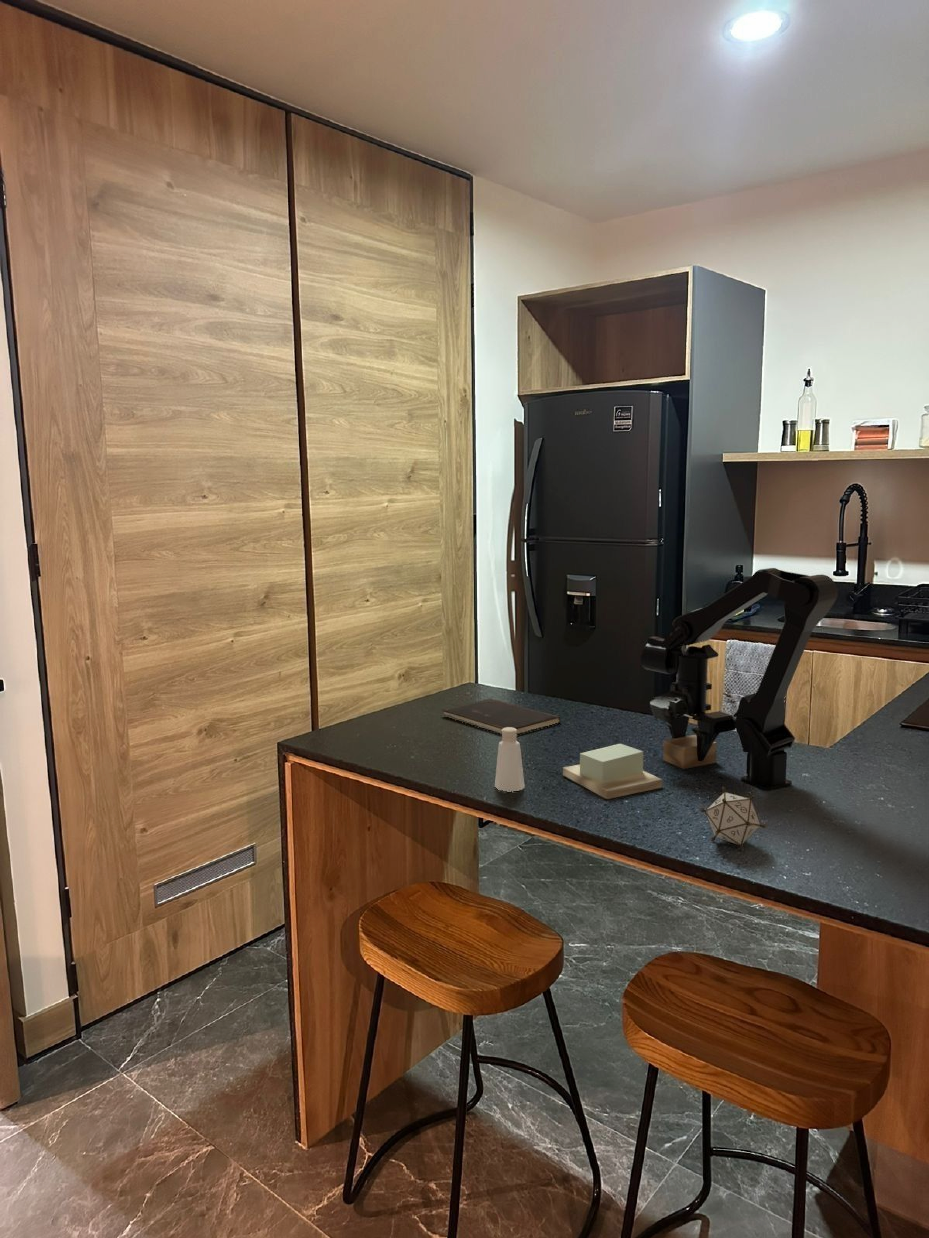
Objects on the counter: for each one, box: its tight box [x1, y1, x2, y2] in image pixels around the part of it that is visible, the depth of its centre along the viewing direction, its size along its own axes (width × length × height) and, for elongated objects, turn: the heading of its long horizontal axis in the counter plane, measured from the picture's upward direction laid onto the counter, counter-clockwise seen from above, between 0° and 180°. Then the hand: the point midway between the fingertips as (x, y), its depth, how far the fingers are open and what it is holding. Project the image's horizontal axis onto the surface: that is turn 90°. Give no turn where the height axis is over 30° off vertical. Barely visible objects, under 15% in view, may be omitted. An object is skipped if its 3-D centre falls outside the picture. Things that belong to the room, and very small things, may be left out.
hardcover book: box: [441, 698, 561, 733], centre depth 201 cm, size 16×23×2 cm
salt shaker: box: [494, 727, 525, 793], centre depth 157 cm, size 5×5×11 cm
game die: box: [698, 786, 767, 851], centre depth 132 cm, size 9×8×10 cm
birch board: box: [562, 763, 663, 800], centre depth 160 cm, size 14×12×2 cm
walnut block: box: [662, 734, 718, 770], centre depth 170 cm, size 6×8×4 cm
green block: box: [579, 743, 644, 784], centre depth 159 cm, size 6×10×4 cm, turn 124°
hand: (689, 756), depth 170 cm, fingers closed on walnut block, 6 cm apart
